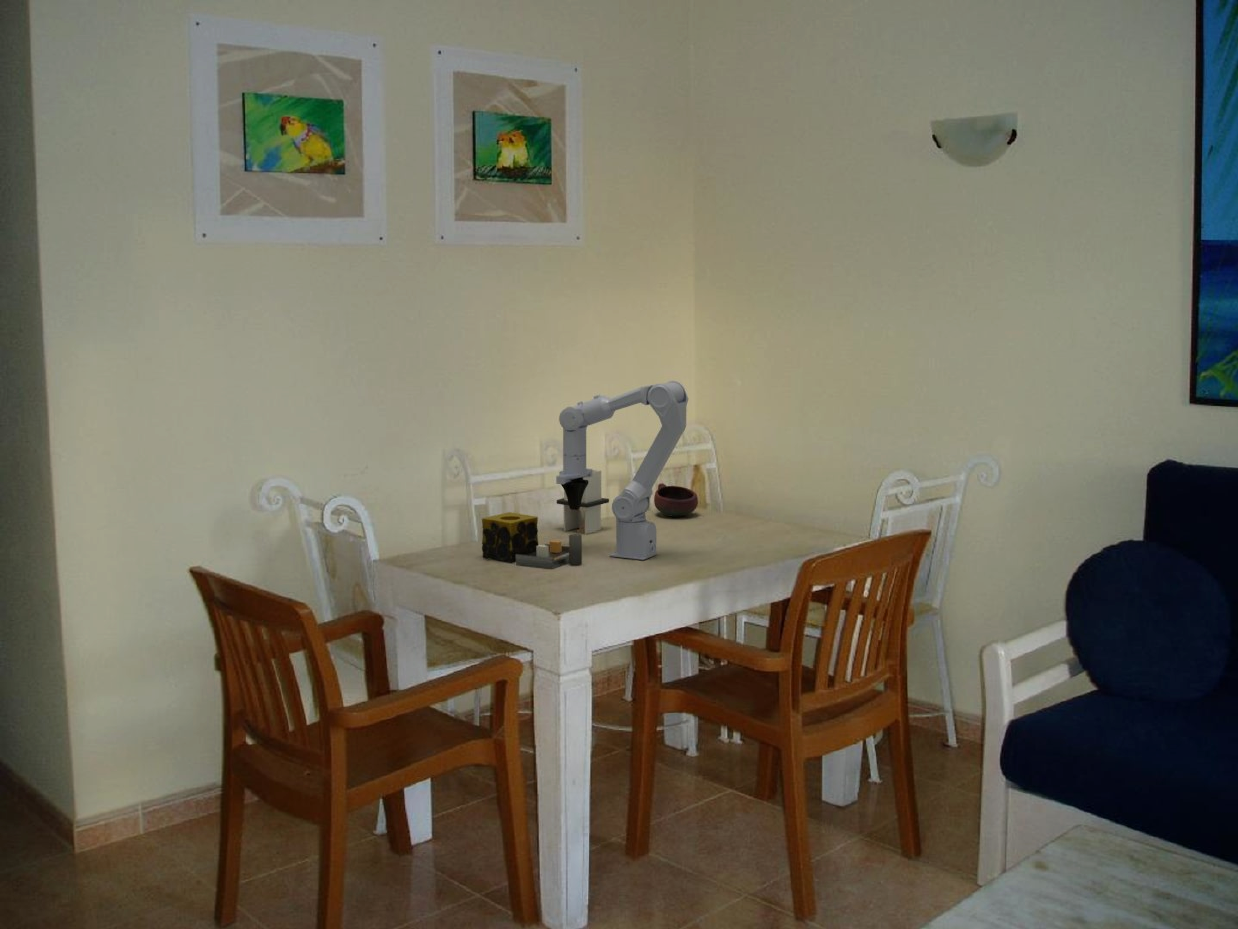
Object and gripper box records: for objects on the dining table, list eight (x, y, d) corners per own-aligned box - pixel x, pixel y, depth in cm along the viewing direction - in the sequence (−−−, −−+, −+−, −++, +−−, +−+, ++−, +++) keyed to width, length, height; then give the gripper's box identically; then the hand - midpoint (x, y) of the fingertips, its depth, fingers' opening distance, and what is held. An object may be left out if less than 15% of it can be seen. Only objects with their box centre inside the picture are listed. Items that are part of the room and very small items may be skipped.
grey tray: (581, 557, 311) (581, 547, 310) (552, 569, 299) (552, 558, 298) (546, 553, 315) (546, 543, 315) (515, 564, 303) (515, 554, 303)
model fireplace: (517, 533, 342) (516, 473, 340) (571, 519, 362) (570, 462, 360) (594, 544, 329) (594, 480, 326) (645, 529, 349) (645, 469, 346)
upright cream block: (548, 556, 304) (548, 545, 304) (545, 557, 303) (545, 547, 302) (540, 555, 305) (539, 544, 305) (536, 556, 304) (536, 546, 304)
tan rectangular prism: (561, 551, 310) (561, 541, 309) (558, 552, 308) (558, 542, 308) (553, 550, 311) (552, 540, 310) (549, 551, 309) (549, 541, 309)
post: (584, 563, 304) (583, 534, 303) (577, 566, 302) (577, 537, 301) (573, 562, 306) (572, 533, 305) (566, 565, 303) (566, 535, 302)
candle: (510, 551, 319) (509, 511, 318) (540, 556, 313) (539, 516, 311) (480, 558, 311) (480, 517, 310) (511, 563, 305) (510, 522, 304)
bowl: (707, 515, 368) (707, 487, 366) (680, 521, 358) (680, 493, 357) (662, 509, 378) (662, 482, 376) (635, 515, 368) (635, 487, 367)
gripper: (575, 450, 324) (575, 503, 326) (545, 457, 312) (545, 512, 314) (599, 452, 321) (599, 505, 323) (570, 459, 308) (570, 514, 310)
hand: (574, 509), depth 318 cm, fingers closed
